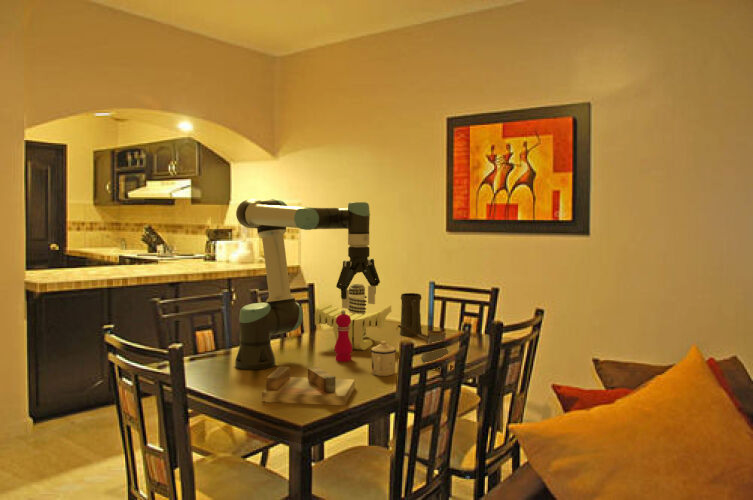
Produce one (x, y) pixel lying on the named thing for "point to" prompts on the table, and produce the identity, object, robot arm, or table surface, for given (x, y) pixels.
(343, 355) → the pepper mill
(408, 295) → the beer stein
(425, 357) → the coffee pot
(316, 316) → the slatted curved stool
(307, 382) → the wooden board with block
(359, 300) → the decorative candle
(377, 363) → the teacup with lid
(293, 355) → the table surface
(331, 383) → the hinged leg
